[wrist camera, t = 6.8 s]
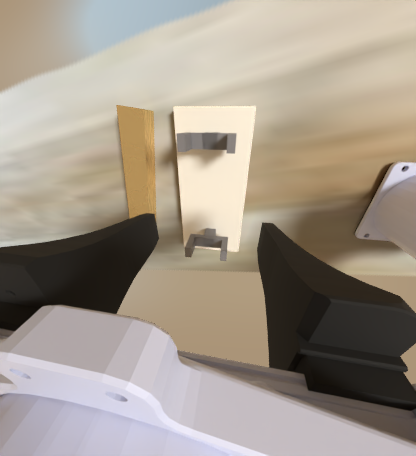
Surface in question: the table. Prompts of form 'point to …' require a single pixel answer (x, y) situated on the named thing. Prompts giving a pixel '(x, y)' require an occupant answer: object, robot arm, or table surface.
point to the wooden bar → (138, 158)
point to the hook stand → (213, 173)
